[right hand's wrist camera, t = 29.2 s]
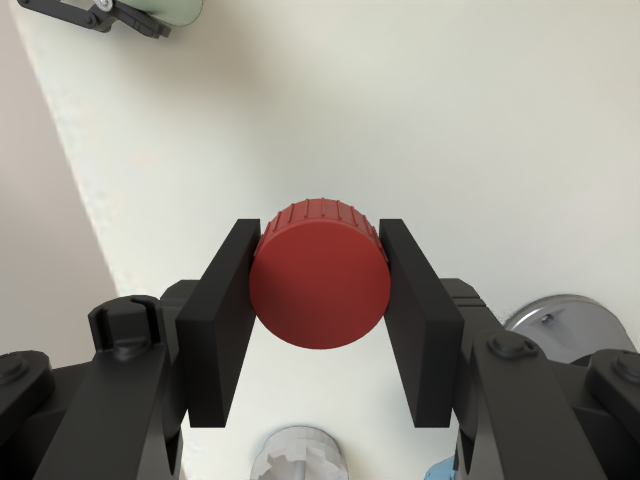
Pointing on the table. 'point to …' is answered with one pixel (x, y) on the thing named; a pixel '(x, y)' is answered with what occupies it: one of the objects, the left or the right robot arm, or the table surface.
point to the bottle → (169, 9)
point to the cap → (319, 275)
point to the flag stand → (299, 457)
